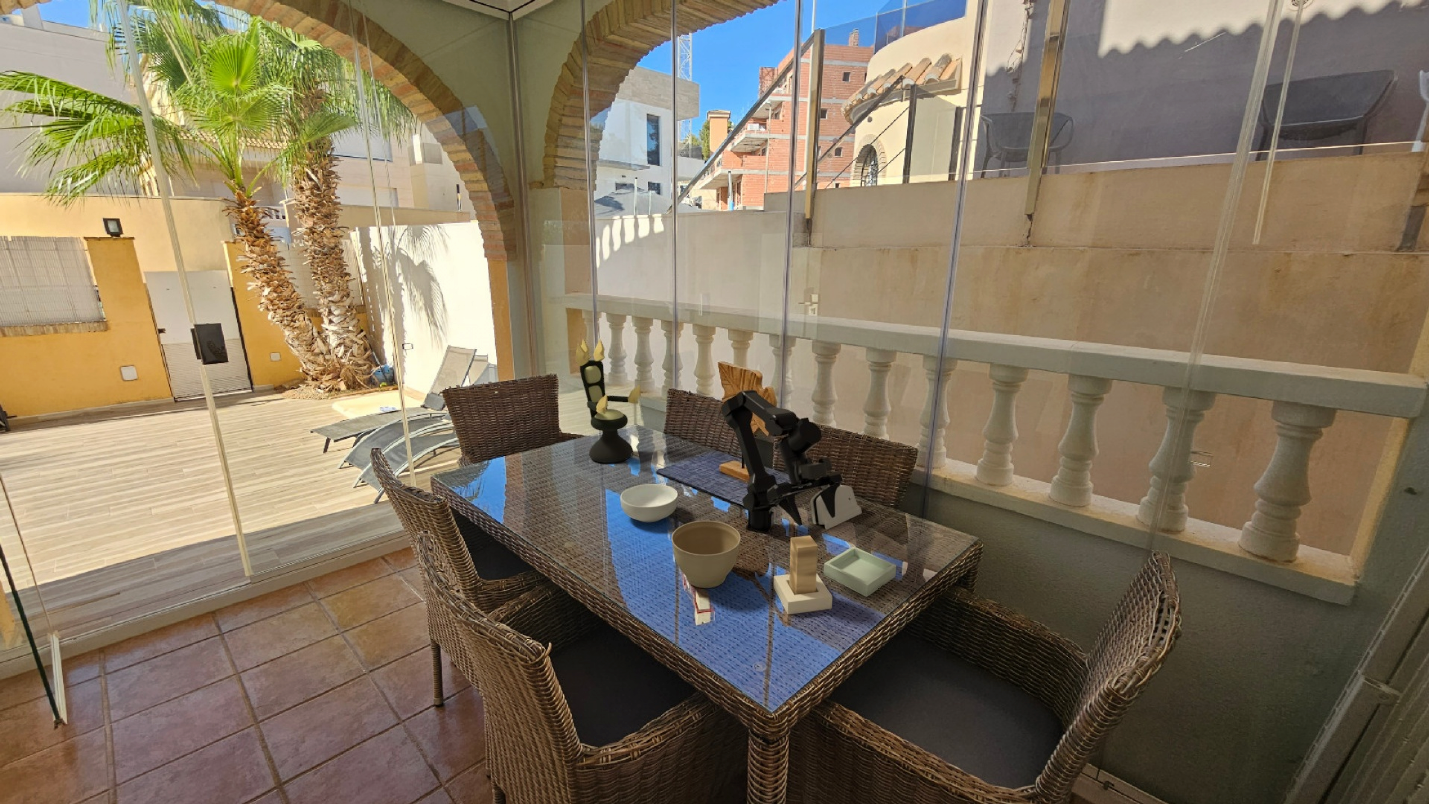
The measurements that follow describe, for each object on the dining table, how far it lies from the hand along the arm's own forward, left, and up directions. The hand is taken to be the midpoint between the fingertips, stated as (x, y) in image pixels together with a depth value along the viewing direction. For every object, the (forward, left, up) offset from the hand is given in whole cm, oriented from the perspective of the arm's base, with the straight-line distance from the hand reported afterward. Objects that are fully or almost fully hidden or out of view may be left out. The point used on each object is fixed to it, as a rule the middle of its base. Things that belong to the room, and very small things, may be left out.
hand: (817, 521), depth 127 cm
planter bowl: (-23, -12, -14) cm, 30 cm away
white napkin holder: (-3, +32, -14) cm, 35 cm away
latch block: (0, -10, -14) cm, 17 cm away
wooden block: (0, -10, -14) cm, 17 cm away
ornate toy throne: (-94, +47, -14) cm, 107 cm away
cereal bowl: (-52, +10, -14) cm, 55 cm away
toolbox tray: (+10, +4, -14) cm, 18 cm away
